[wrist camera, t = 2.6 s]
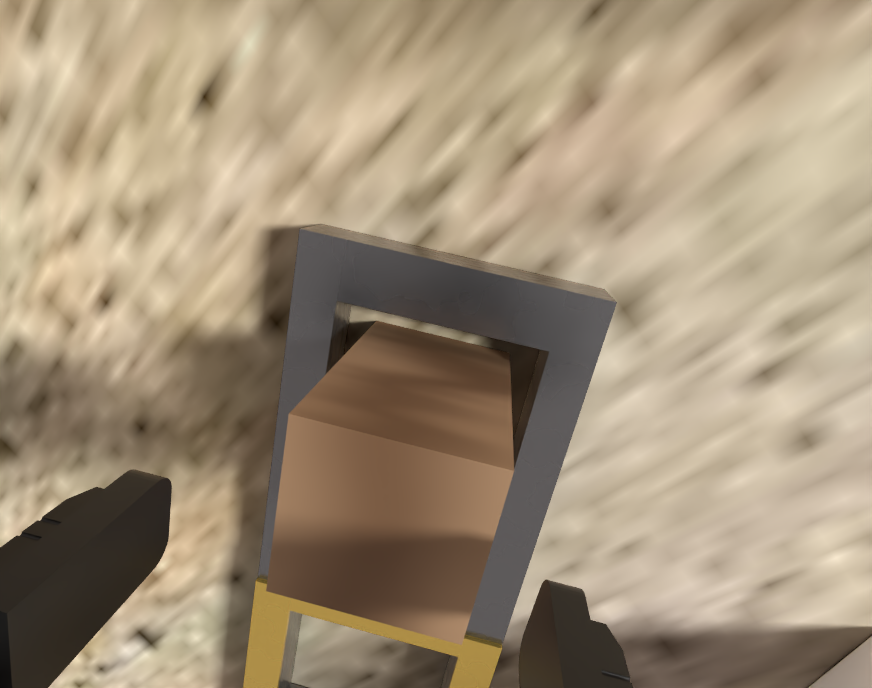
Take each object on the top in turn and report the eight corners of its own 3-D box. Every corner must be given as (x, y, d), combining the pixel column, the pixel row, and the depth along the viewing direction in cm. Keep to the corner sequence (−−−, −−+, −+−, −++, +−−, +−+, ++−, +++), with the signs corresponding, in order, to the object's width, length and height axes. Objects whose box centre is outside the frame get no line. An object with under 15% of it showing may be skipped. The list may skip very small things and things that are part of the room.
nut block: (509, 352, 18) (514, 471, 11) (477, 469, 20) (461, 645, 12) (376, 320, 19) (288, 413, 11) (355, 438, 20) (266, 591, 13)
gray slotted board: (604, 289, 17) (618, 303, 15) (451, 759, 25) (446, 812, 23) (321, 223, 18) (297, 229, 16) (257, 703, 25) (235, 749, 23)
